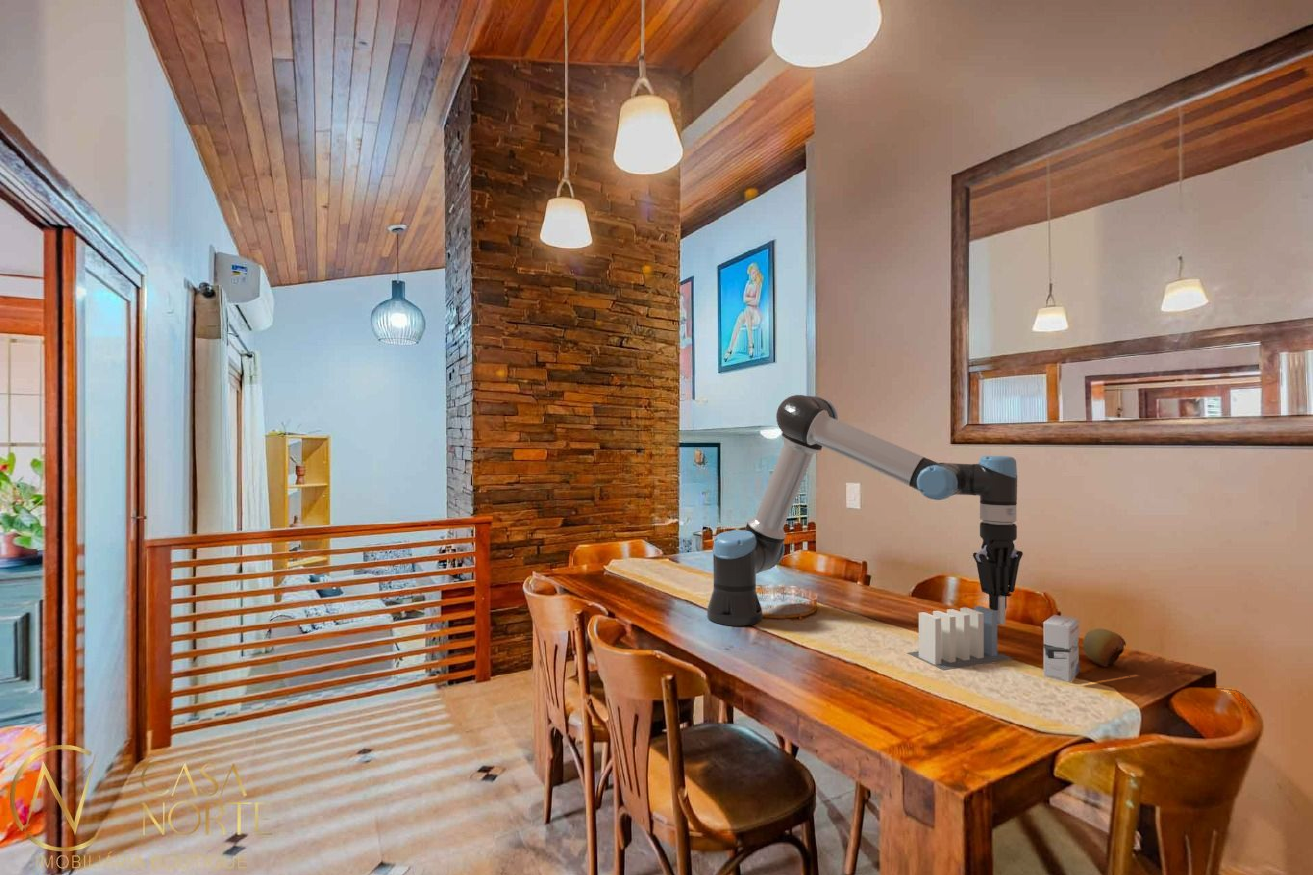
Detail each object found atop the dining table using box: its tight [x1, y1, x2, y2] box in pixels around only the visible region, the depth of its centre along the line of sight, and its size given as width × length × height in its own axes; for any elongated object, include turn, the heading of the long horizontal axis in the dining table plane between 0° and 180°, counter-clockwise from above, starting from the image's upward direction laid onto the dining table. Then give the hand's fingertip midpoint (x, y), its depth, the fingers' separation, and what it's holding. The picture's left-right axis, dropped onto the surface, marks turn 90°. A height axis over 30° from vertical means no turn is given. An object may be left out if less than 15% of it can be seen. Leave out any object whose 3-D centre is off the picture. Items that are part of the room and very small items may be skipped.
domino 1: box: [918, 611, 941, 665], centre depth 136 cm, size 2×5×10 cm, turn 19°
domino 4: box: [959, 606, 984, 658], centre depth 140 cm, size 2×5×10 cm, turn 19°
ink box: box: [1042, 614, 1080, 683], centre depth 128 cm, size 8×5×12 cm, turn 134°
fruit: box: [1082, 628, 1127, 668], centre depth 134 cm, size 8×8×8 cm
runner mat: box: [907, 650, 1015, 671], centre depth 139 cm, size 11×20×1 cm, turn 109°
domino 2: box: [932, 610, 956, 663], centre depth 137 cm, size 2×5×10 cm, turn 19°
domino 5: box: [973, 605, 998, 656], centre depth 141 cm, size 2×5×10 cm, turn 19°
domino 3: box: [946, 608, 970, 660], centre depth 138 cm, size 2×5×10 cm, turn 19°
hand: (997, 623), depth 142 cm, fingers closed
